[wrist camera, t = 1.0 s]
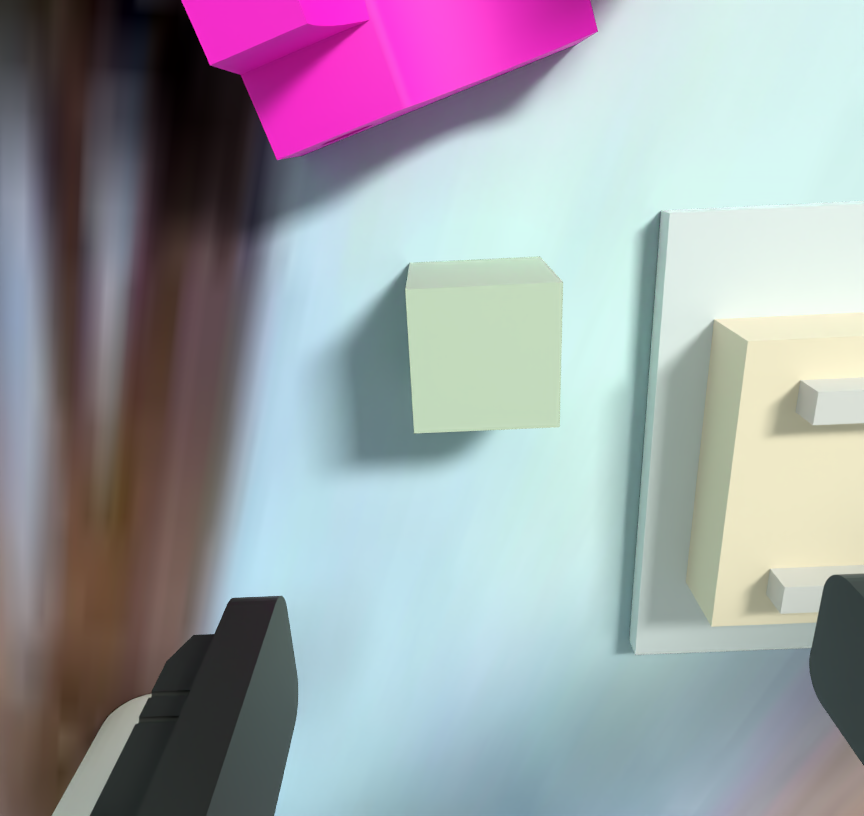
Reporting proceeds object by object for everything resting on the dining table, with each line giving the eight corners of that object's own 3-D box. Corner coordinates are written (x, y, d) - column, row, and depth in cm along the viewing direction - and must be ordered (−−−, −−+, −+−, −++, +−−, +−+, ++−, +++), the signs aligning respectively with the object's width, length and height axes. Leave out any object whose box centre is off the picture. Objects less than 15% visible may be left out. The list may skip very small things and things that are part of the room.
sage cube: (539, 256, 26) (563, 282, 22) (538, 378, 28) (559, 427, 24) (409, 262, 26) (405, 289, 22) (416, 384, 28) (414, 433, 24)
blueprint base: (1040, 192, 25) (1184, 205, 21) (923, 628, 33) (1008, 714, 28) (661, 210, 26) (714, 227, 21) (629, 640, 33) (663, 726, 28)
